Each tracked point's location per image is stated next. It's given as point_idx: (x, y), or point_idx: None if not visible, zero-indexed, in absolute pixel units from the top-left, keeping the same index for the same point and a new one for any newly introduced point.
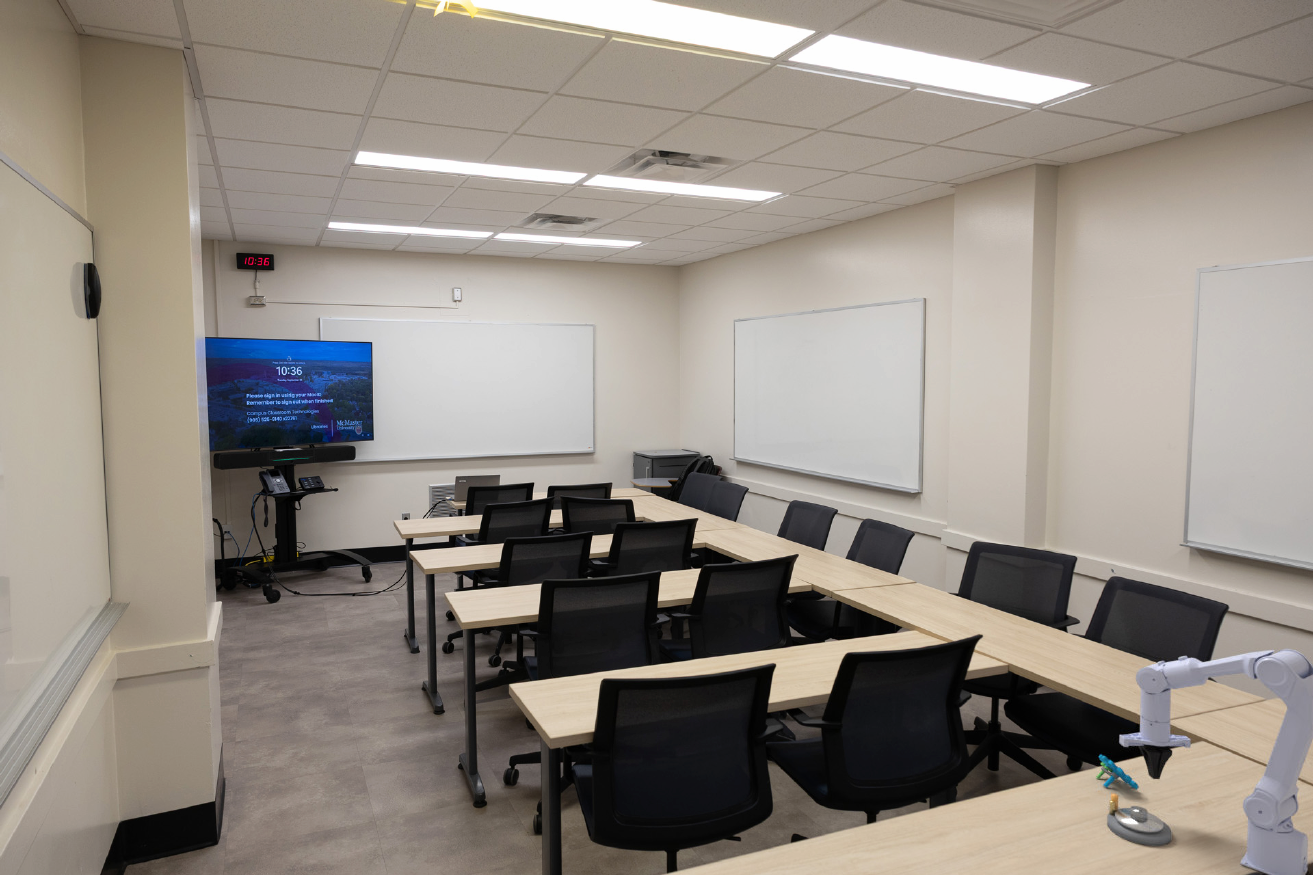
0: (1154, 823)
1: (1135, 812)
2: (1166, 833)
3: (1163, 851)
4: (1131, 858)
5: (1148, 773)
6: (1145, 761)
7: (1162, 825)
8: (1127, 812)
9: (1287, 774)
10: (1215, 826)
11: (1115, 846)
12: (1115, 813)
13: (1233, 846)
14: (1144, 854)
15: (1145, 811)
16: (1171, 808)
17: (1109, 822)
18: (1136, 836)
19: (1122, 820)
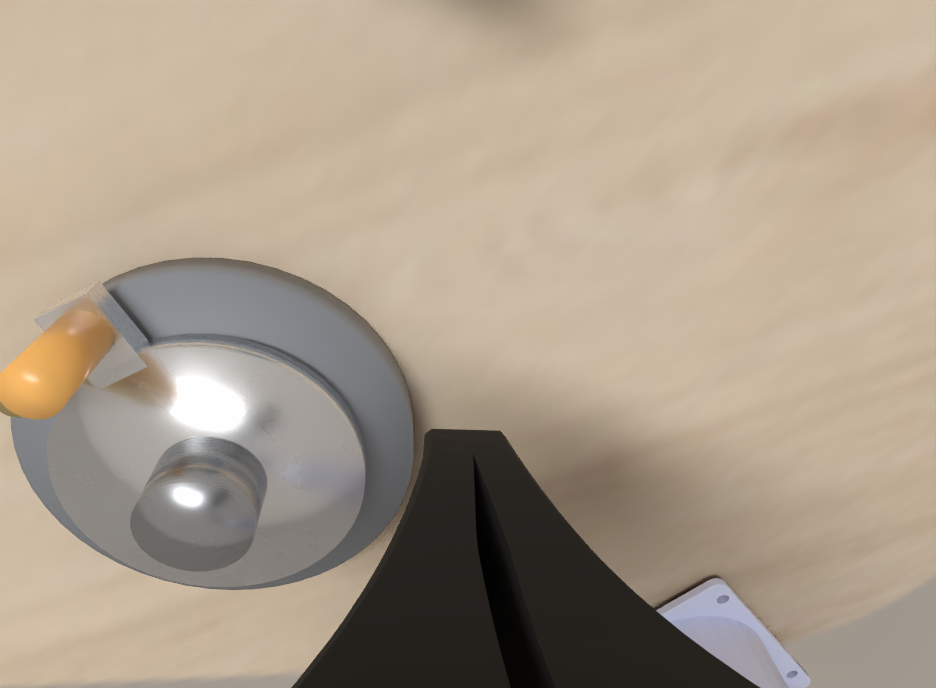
0: (290, 528)
1: (150, 548)
2: (344, 539)
3: (266, 593)
4: (61, 644)
5: (424, 441)
6: (393, 538)
7: (331, 545)
8: (163, 408)
9: None
10: (756, 382)
11: (9, 566)
12: (55, 422)
13: (666, 547)
14: (147, 616)
15: (232, 547)
16: (670, 154)
17: (15, 431)
18: (135, 570)
19: (74, 502)
